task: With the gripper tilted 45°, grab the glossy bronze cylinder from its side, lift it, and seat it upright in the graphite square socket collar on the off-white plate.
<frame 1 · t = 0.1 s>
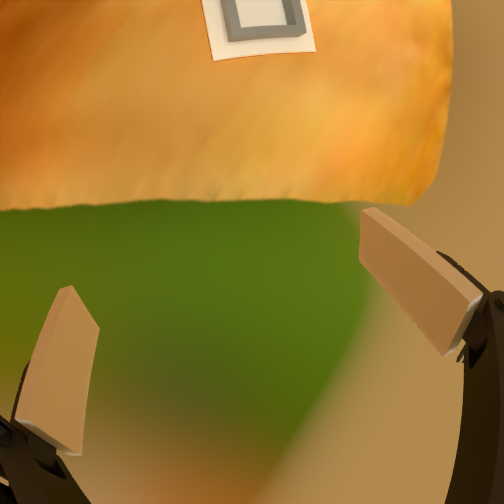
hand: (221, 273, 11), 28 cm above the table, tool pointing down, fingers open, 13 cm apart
square socket: (257, 11, 26), on the table
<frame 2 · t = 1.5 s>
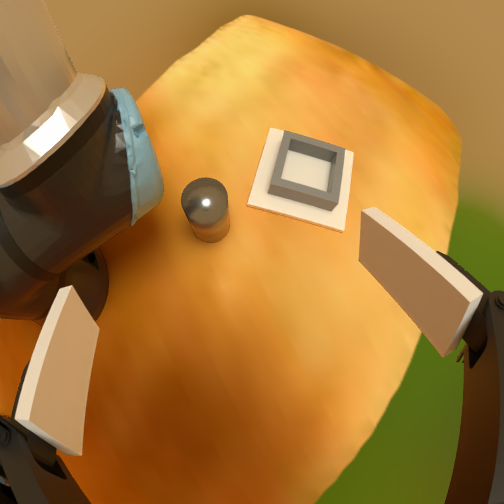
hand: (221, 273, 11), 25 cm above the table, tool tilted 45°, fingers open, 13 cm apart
glossy bronze cylinder: (211, 225, 38), on the table
square socket: (304, 177, 40), on the table
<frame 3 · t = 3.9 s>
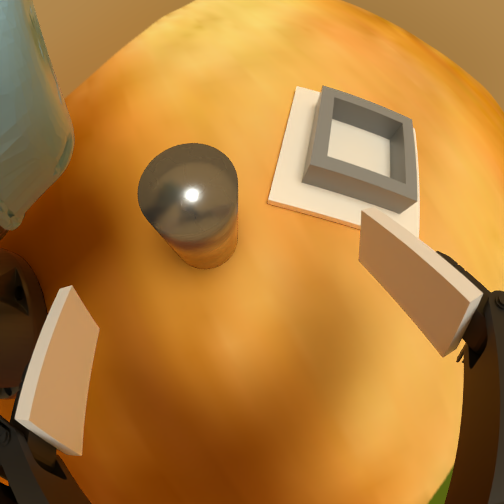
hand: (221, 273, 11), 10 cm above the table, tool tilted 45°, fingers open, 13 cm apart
glossy bronze cylinder: (205, 237, 22), on the table
square socket: (354, 159, 24), on the table
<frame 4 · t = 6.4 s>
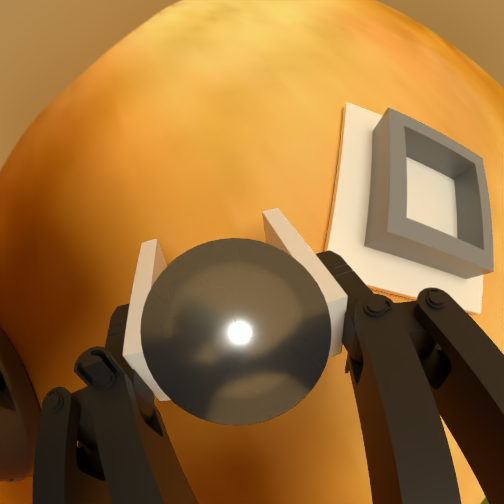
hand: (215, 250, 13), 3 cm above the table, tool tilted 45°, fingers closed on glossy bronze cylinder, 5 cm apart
glossy bronze cylinder: (236, 325, 16), on the table, touching gripper
square socket: (419, 206, 18), on the table
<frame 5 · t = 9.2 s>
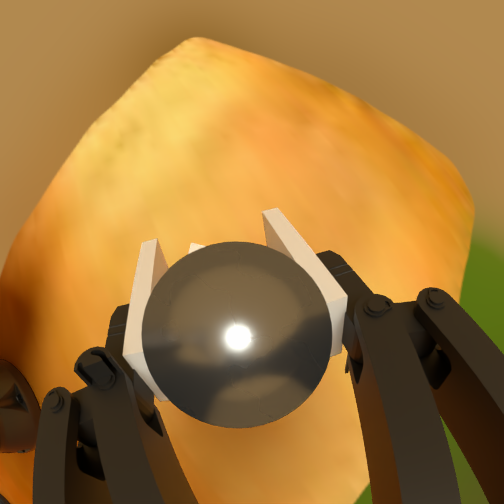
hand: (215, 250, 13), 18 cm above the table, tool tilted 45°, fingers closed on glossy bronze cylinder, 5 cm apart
glossy bronze cylinder: (237, 327, 16), point 15 cm above the table, touching gripper
when the fingers open (6 cm above the table, at t = 12.4 s): glossy bronze cylinder drops 1 cm, resting on square socket.
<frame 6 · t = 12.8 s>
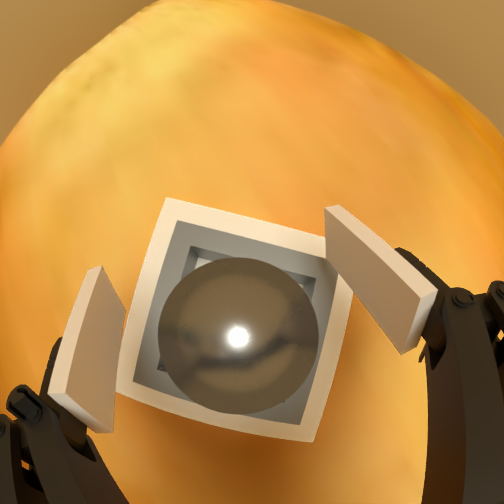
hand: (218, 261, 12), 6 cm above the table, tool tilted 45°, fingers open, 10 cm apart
glossy bronze cylinder: (235, 327, 17), point 1 cm above the table, touching square socket
square socket: (236, 324, 18), on the table
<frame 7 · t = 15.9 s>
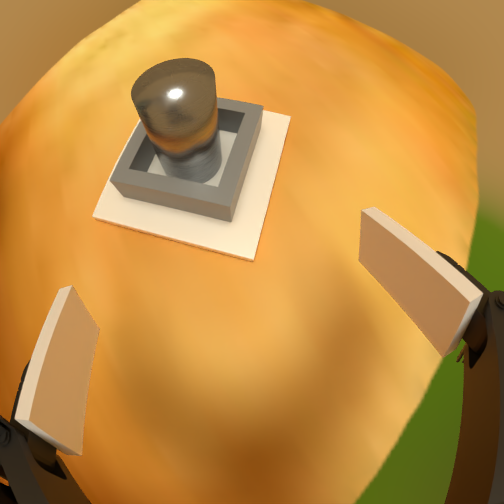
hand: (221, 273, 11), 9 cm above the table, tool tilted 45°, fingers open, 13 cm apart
glossy bronze cylinder: (192, 160, 22), point 1 cm above the table, touching square socket
square socket: (194, 163, 23), on the table
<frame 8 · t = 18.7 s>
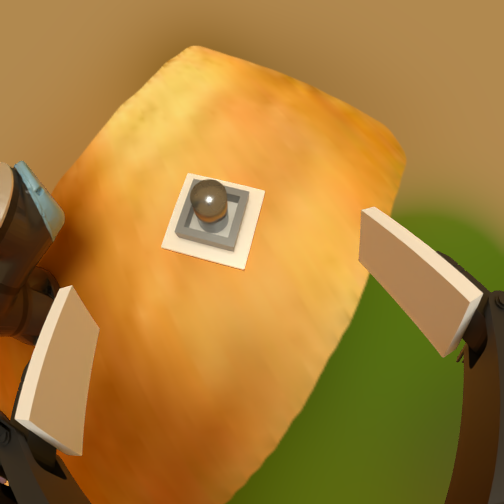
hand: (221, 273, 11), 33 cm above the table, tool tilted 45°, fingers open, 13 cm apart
glossy bronze cylinder: (213, 218, 46), point 1 cm above the table, touching square socket
square socket: (214, 219, 46), on the table
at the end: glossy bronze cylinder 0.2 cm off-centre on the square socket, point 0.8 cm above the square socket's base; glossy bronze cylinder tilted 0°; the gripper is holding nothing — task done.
